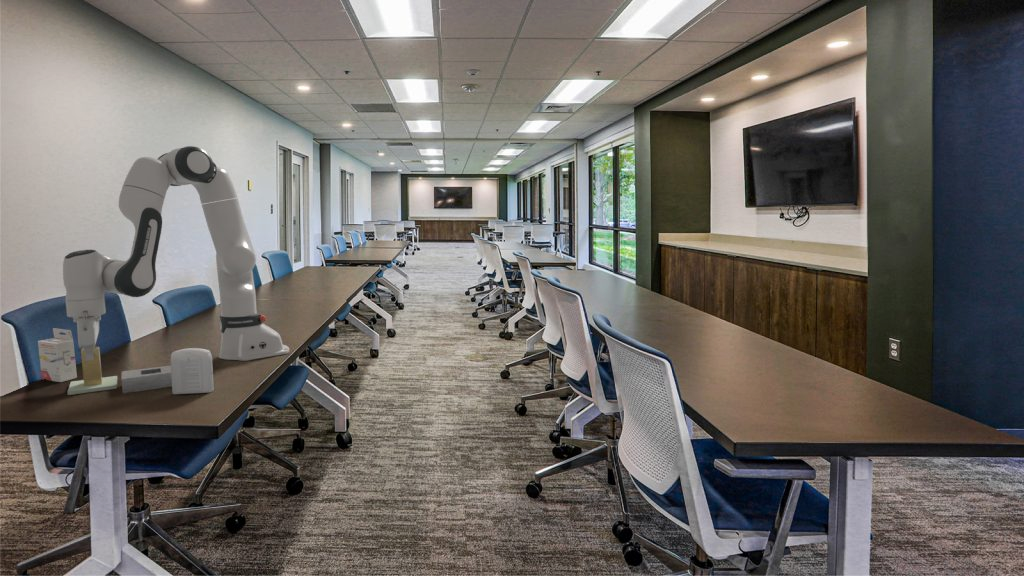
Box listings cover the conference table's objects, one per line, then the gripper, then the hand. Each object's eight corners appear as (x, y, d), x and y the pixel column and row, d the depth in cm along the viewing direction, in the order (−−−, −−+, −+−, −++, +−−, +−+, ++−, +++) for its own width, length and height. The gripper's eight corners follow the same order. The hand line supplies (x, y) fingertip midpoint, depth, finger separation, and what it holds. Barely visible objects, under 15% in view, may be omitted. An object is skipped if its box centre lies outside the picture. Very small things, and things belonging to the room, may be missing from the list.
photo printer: (215, 388, 165) (213, 345, 164) (211, 393, 161) (208, 349, 160) (175, 391, 163) (172, 347, 161) (170, 396, 159) (166, 351, 157)
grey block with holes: (194, 375, 178) (193, 362, 178) (196, 382, 171) (195, 369, 170) (123, 385, 169) (121, 371, 168) (122, 393, 161) (121, 378, 161)
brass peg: (102, 380, 170) (99, 346, 168) (101, 383, 166) (98, 349, 165) (85, 382, 168) (81, 348, 166) (84, 386, 164) (80, 351, 163)
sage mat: (117, 379, 175) (117, 375, 174) (116, 388, 165) (116, 385, 165) (71, 384, 169) (70, 381, 169) (67, 395, 160) (67, 391, 159)
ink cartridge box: (40, 379, 174) (35, 330, 172) (58, 375, 178) (53, 327, 177) (60, 382, 171) (55, 332, 169) (78, 378, 176) (73, 329, 174)
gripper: (98, 313, 157) (103, 363, 159) (101, 302, 174) (105, 348, 176) (68, 315, 154) (74, 367, 156) (75, 304, 171) (79, 351, 173)
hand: (91, 357), depth 166 cm, fingers open, 6 cm apart
